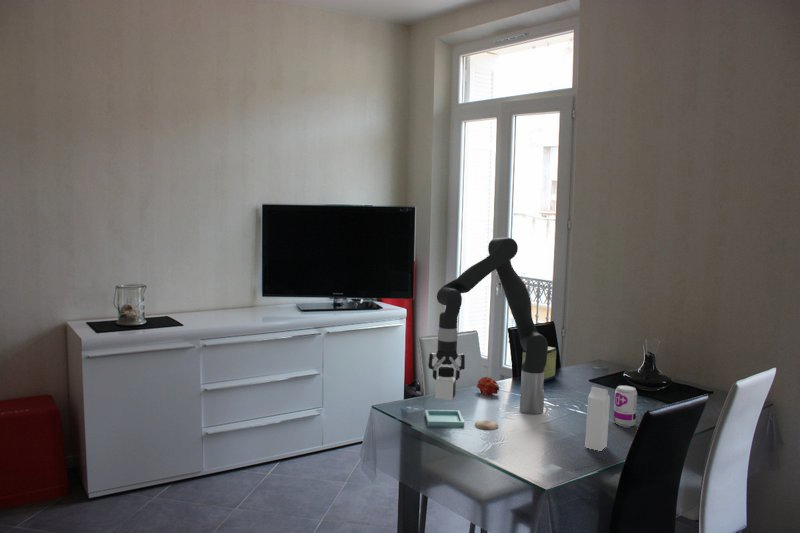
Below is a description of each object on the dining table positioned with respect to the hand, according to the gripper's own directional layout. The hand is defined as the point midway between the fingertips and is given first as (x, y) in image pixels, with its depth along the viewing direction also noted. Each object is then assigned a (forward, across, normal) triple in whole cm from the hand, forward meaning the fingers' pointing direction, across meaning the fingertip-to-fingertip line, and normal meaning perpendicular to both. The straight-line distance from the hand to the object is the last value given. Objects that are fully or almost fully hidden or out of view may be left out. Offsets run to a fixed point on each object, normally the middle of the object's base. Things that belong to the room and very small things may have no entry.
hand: (445, 379), depth 260 cm
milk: (+17, -52, +26) cm, 61 cm away
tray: (+17, 0, 0) cm, 17 cm away
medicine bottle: (+7, 0, 0) cm, 7 cm away
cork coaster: (+17, -16, +5) cm, 24 cm away
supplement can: (+17, -72, +1) cm, 74 cm away
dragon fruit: (+17, -24, -36) cm, 46 cm away
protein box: (+17, -54, -63) cm, 85 cm away
